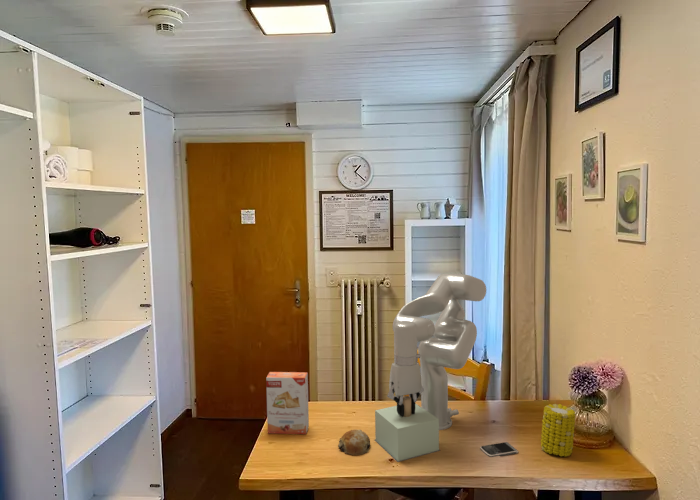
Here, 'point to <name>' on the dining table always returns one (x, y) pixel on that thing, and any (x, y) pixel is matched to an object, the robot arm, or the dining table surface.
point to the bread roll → (354, 442)
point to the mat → (404, 459)
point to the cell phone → (498, 449)
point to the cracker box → (287, 402)
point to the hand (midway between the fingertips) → (406, 413)
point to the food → (558, 430)
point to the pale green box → (407, 431)
